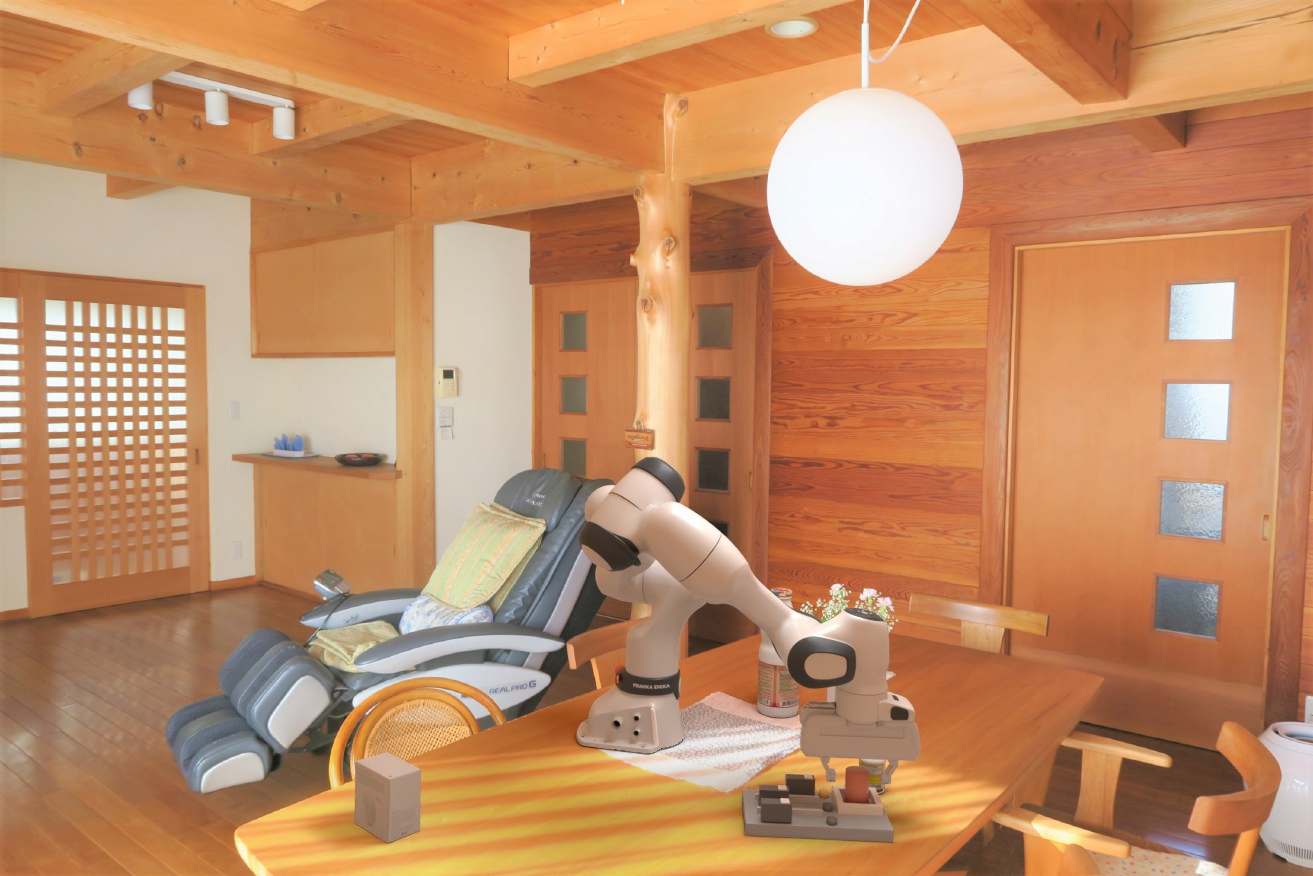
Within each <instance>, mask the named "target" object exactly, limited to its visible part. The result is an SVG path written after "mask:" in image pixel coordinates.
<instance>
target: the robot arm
mask: <svg viewBox="0 0 1313 876" xmlns="http://www.w3.org/2000/svg"><path fill="white" fill-rule="evenodd" d="M685 491H686V485H685V481H684V479H683V476H681V474H680V473H679V472H678V470H677V469H676V468H675V467H674V466H672V465H671V464H670V463H668V462H667V461H665V460H663V459H661V458H659V457H657V456H645V457H644V458H642V459H640V460H639V461H638V462H636V463H635V464H634V465H632V466H631V468H630V470H629V472H628V473H626V474H625V475H624V476H623V477H622V478H621V479H620V480H619V481H617V483H616V484H614V485H613V484H608V485H603V486H601V487H598V488H597V489H595V490H594V491H592V492H591V494H590V495H589V496H588V498H587V499H586V502H585V503H584V504H585V505H584V509H583V510H584V518H585V520H586V521H585V523H584V525H583V527H582V529H581V531H580V532H579V534H578V542H579V546H580V549H582V551H583V553H584V554H585V556H586V558H587V559H588V560H589V561H590V562H591V563H592V564H594V565H595V566H596V568H595V573H594V574H595V575H594V576H595V582H596V586H597V587H598V590H599V591H600V593H601V594H603V595H605V596H607V597H610V598H612V599H616V600H618V601H622V602H626V603H627V602H628V603H633V604H634V603H635V604H641V605H642V604H643V605H648V606H651V614H650V616H649V618H646V619H643V620H641V621H639V622H637V623H635V624H634V625H632V626H631V627H630V629H629V630H628V631H627V634H626V638H625V666H624V665H623V664H621V663H620V664H618V665H616V666H615V669H614V674H615V681H614V683H615V685H614V686H613V687H611V688H609V689H608V690H607V691H605V692H604V693H602V694H601V695H600V696H598V698H596V699H595V700H594V702H593V703H592V705H591V707H590V709H589V712H588V715H587V719H584V720H583V721H581V722H580V724H579V725H578V728H577V730H576V735H575V736H576V741H577V743H578V744H579V745H580V746H583V747H590V748H591V747H592V748H599V749H606V750H614V749H617V750H616V751H621V750H626V751H625V752H629V751H630V753H637V752H642V753H641V754H646V753H651V754H653V753H652V752H654V753H656V752H658V751H659V749H660V750H662V749H661V748H663V747H667V748H669V747H668V746H671V747H673V746H672V745H674V744H676V743H679V742H680V741H681V740H682V739H683V740H685V737H684V735H685V732H684V729H683V723H682V719H681V711H680V700H679V699H680V696H681V687H682V684H681V683H682V678H681V677H682V676H681V670H680V669H679V661H680V660H679V659H680V657H679V656H680V647H681V638H682V637H681V636H682V633H683V631H684V628H685V625H686V623H687V622H688V620H689V618H690V617H691V616H692V615H693V614H694V613H695V612H696V611H698V610H699V609H700V608H702V607H703V606H705V605H706V604H707V603H708V604H711V605H722V604H724V605H729V606H731V607H734V608H735V609H736V610H738V611H739V612H741V613H742V614H743V615H744V616H745V617H746V618H748V619H749V620H750V621H751V622H752V623H754V624H755V625H756V626H757V627H758V628H759V629H760V628H761V629H762V630H763V631H764V632H765V633H766V634H767V635H768V636H769V638H770V640H771V642H772V644H773V647H774V649H775V651H776V653H777V655H778V656H779V657H780V659H781V660H782V661H783V663H784V665H785V667H786V669H787V670H788V672H789V674H790V675H791V676H792V678H793V679H794V680H795V681H796V682H797V683H798V684H800V685H799V686H802V687H803V688H807V689H814V690H815V689H816V690H817V689H825V688H827V687H834V686H835V702H827V701H816V700H815V701H814V700H812V701H808V703H805V704H803V705H802V706H801V708H800V710H799V722H800V724H801V731H800V736H799V747H800V751H801V752H802V754H803V755H804V756H805V757H809V758H812V757H813V758H820V762H821V764H822V767H823V768H824V771H825V780H826V782H829V783H836V779H837V778H836V775H837V774H836V770H835V768H833V767H831V768H830V766H829V763H830V762H831V760H830V758H833V759H834V758H835V759H857V760H859V759H879V760H886V761H888V763H889V764H888V765H887V767H886V768H885V771H883V770H881V778H880V779H881V782H882V784H885V785H891V784H892V775H894V773H895V772H896V770H897V769H898V767H899V762H900V761H905V762H906V761H907V762H916V761H917V760H918V759H919V757H920V756H921V736H920V730H919V727H918V725H917V723H916V722H915V719H916V711H915V708H914V706H913V704H912V703H911V702H910V701H909V699H908V698H906V697H905V696H902V695H900V694H896V693H893V692H891V691H889V685H888V680H887V674H888V673H887V672H888V669H889V665H890V637H889V636H890V633H889V628H888V625H887V622H886V621H885V620H884V618H882V616H881V615H878V614H877V613H875V612H874V611H873V612H872V611H870V610H868V609H864V608H860V607H847V608H846V607H845V608H844V609H842V611H841V612H840V613H838V614H836V615H835V616H833V618H830V619H828V620H826V621H825V622H822V621H821V620H820V619H819V617H816V616H815V615H813V614H811V613H808V612H805V611H802V610H798V609H795V608H794V607H793V608H791V607H789V606H788V605H786V604H785V603H784V602H783V601H782V600H780V599H779V598H778V597H777V596H776V595H775V594H773V593H772V592H771V590H770V589H769V588H768V587H766V585H764V584H763V583H762V582H761V581H760V580H759V579H758V578H757V577H756V576H755V574H754V572H753V571H752V569H751V567H750V564H749V562H748V561H747V560H746V558H745V557H744V555H743V554H742V553H741V551H740V550H739V549H738V548H737V547H736V546H735V545H734V543H733V542H732V541H731V540H730V539H729V538H728V537H727V536H726V535H725V534H723V533H722V532H721V530H719V529H718V528H717V527H715V526H714V525H713V524H712V523H710V522H709V521H708V520H707V519H705V518H704V517H703V516H701V515H700V514H698V513H696V512H695V511H694V510H692V509H691V508H689V507H687V506H685V505H684V504H683V503H680V502H681V501H682V499H683V496H684V495H685ZM680 743H681V742H680ZM680 743H679V744H680ZM674 746H675V745H674ZM663 749H664V748H663ZM657 750H658V751H657ZM614 751H615V750H614Z"/></svg>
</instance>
